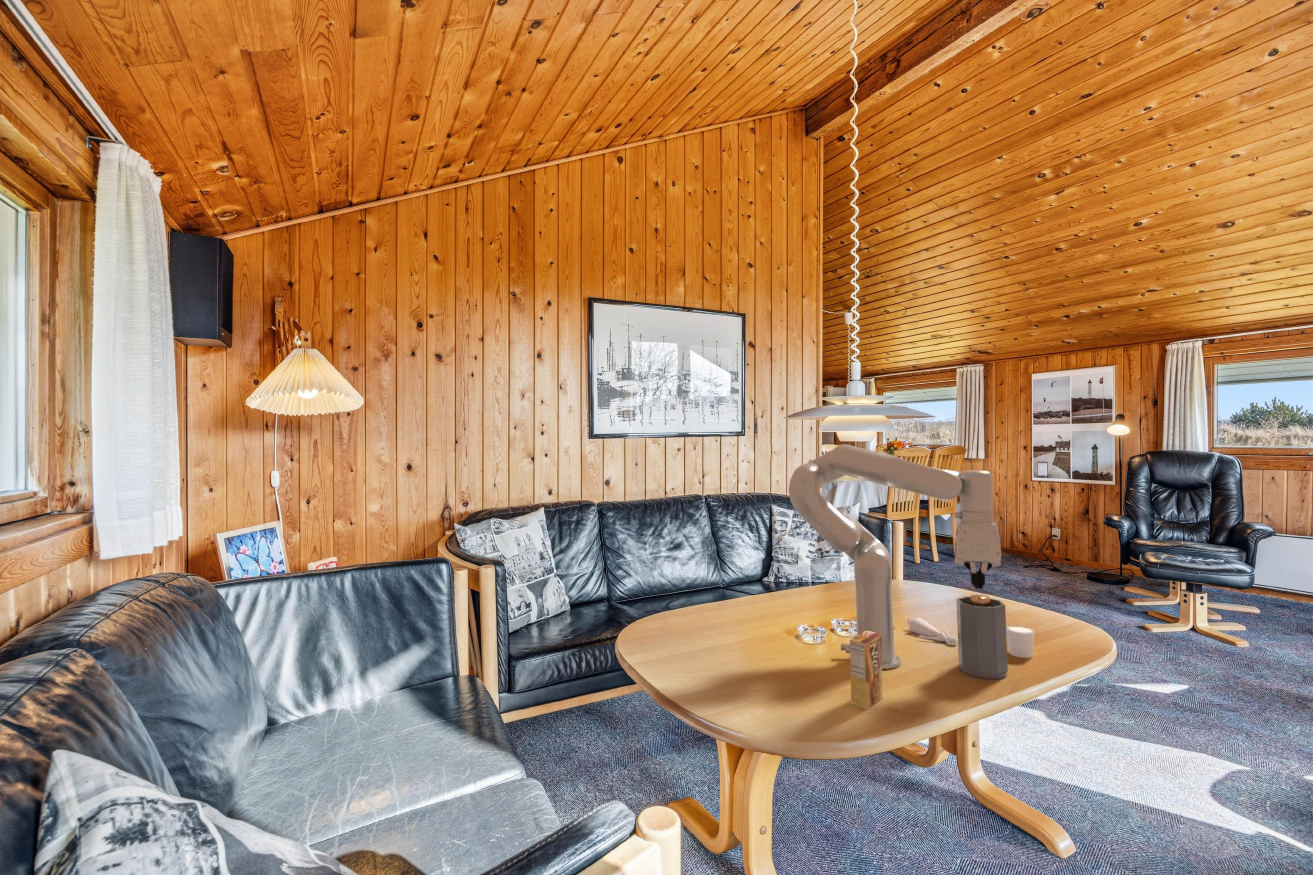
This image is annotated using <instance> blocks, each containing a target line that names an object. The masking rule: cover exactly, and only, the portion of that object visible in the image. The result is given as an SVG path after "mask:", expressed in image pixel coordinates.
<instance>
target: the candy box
mask: <svg viewBox="0 0 1313 875" xmlns="http://www.w3.org/2000/svg"><path fill="white" fill-rule="evenodd" d="M849 644H850V653H849V658H850V659H849V660H850V661H849V662H850V664H849V666H850V667H849V668H850V703H851V704H850V705H851V706H852V705H853V706H852V707H855V706H856V708H859V707H860V708H859V709H863V710H866V711H867V710H869V709H870V708H872V707H873V706H874V705H876V703H878V702H879V701H880V700H882V699H883V698H884V696H883V695H884V694H883V669H882V646H881V634H880V633H876V632H871V631H864V632H862V633H861V634H859V635H857V634H856V635H855V636H854V637H852V638H850V639H849Z"/></svg>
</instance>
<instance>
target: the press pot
mask: <svg viewBox="0 0 1313 875" xmlns="http://www.w3.org/2000/svg"><path fill="white" fill-rule="evenodd" d="M1006 615H1007V614H1006V604H1004V602H1003V601H1001V599H999V600H998V599H995V598H990V607H979V606H973V605H971V596H968V595H967V596H963V597H958V598H956V622H957V642H958V643H957V646H958V649H957V650H958V663H959V670H960V671H961V672H962V673H964V674H965V675H967V676H970V677H972V678H973V677H974V678H978V679H983V680H1001V679H1005V678H1006V677H1007V676H1008V671H1009V668H1008V667H1009V665H1008V640H1007V633H1006V627H1007V617H1006Z"/></svg>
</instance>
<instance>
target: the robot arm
mask: <svg viewBox="0 0 1313 875" xmlns="http://www.w3.org/2000/svg"><path fill="white" fill-rule="evenodd" d="M845 476H847V477H852V478H855V479H859V480H863V481H868V482H871V483H875V484H878V485H883V486H886V487H889V488H895V489H899V490H905V491H908V492H912V493H915V494H919V495H923V496H927V497H930V498H931V497H932V498H934V499H938V500H943V501H949V500H953V499H955V498H957V497H958V496H959V501H960V502H959V509H960V510H959V511H958V512H954V517H953V518H956V519H959V520H960V521H957V524H956V531H955V542H954V554H955V557H954V558H955V559H954V563H955V564H956V565H958V566H963V567H965V568H967V569H968V570H969V571H970V584H971V585H972V586H973V588H974V589H976V590H978V589H979V590H983V589H984V586H985V585H986V574H987V572H988V571H989V570H990V569H991V568H995V567H1000V566H1001V565H1002V560H1001V559H1002V548H1001V547H1002V546H1001V538H1000V533H999V531H1000V530H999V527H998V523H995V522H994V510H993V509H994V508H993V507H994V503H993V476H992V473H991V472H990V471H987V470H983V469H980V470H979V469H972V470H970V469H969V470H953V469H946V468H944V469H943V468H942V469H940V468H937V467H931V466H927V465H923V464H919V463H917V462H912V461H909V460H907V459H903V458H901V457H899V456H897V455H892V454H889V453H884V452H879V451H875V450H871V449H868V448H867V449H866V448H864V447H863V448H862V447H858V446H854V445H851V444H847V443H845V444H839V445H837V446H835V447H834V448H833V449H832V450H829V451H828V452H826V453H824V454H822V455H820V456H819V457H817V458H815V459H813V460H811V461H808V462H807V463H804V464H801V465H800V466H798V467H796V469H795V470H794V471H793V473H792V474H791V478H790V480H789V485H788V496H789V499H790V503H791V504H792V507H793V508H794V509H795V511H796V513H797V514H798V515H799V516H800V517H801V518H802V519H803V520H804V521H805V522H806V523H807V524H809V526H810V527H811V528H812V529H813V530H814V531H815V532H816V533H817V534H818V535H819V536H821V538H822V539H824V541H825V542H826V543H827V544H828V545H829V546H830V547H831V548H832V549H834V550H835V551H838V552H840V553H845V555H846V556H847V557H849V558H850V559H851V560H852V561H853V562H854V564H853V566H854V567H853V571H854V574H853V575H854V585H855V588H854V589H855V605H856V606H855V608H856V609H855V610H856V636H857V635H859V634H861V633H862V632H864V631H871V632H876V633H880V634H881V646H882V670H888V669H894V668H897V667H899V666H900V665H901V664H902V659H901V657H900V655H898V654H896V653H895V638H894V637H895V636H894V635H895V634H894V630H895V629H894V611H893V610H894V607H893V606H894V605H893V568H892V566H893V564H892V559H891V553H890V552H889V549H888V548H887V547H886V546H885V545H884V544H883V543H882V542H881V540H879V539H878V538H877V537H876V536H874V535H873V533H871V532H870V531H869V530H868V529H867V528H866V527H864V526H863V525H862V524H861V522H859V521H858V520H857V519H855V518H854V517H852V516H850V515H846V514H843V513H841V512H840V511H839V510H838V509H836V507H834V505H832V503H831V502H830V501H828V499H826V498H824V496H823V495H822V494H821V491H820V490H821V489H822V488H824V487H825V486H827V485H830V484H831V483H833V482H835V481H837V480H839V479H841V478H843V477H845ZM976 563H979V566H978V570H977V567H976ZM840 651H845V653H846V654H850V643H842V642H841V643H840Z"/></svg>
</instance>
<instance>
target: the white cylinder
mask: <svg viewBox="0 0 1313 875" xmlns="http://www.w3.org/2000/svg"><path fill="white" fill-rule="evenodd" d="M1006 638H1007V648H1008V654H1009V655H1011V656H1013V657H1016V658H1021V659H1031V658H1033V657H1034V647H1035V646H1034V645H1035V630H1034V629H1032V628H1029V627H1026V626H1021V625H1009V626H1006Z"/></svg>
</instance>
